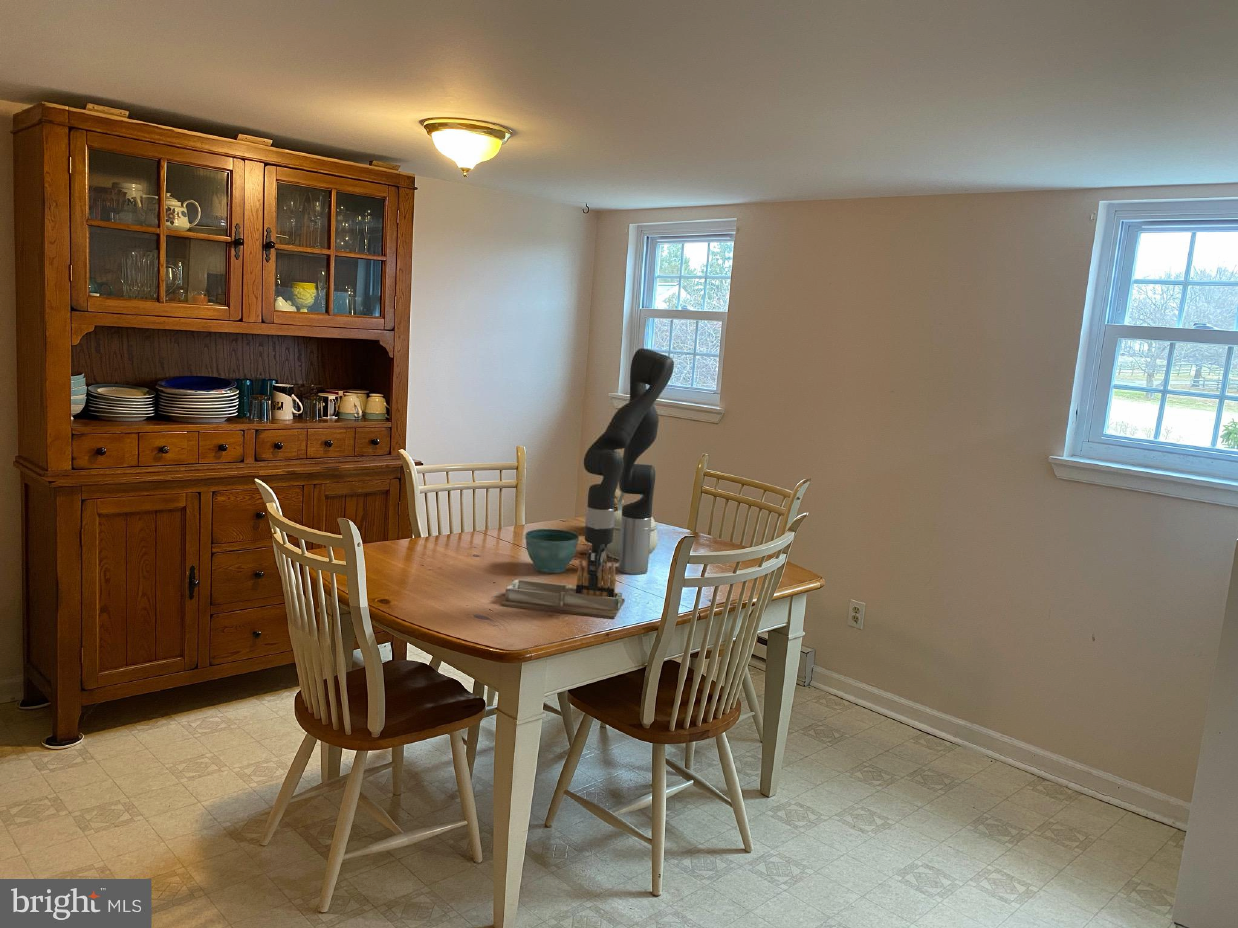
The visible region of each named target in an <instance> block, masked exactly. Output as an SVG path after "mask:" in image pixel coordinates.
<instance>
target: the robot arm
mask: <svg viewBox="0 0 1238 928" xmlns="http://www.w3.org/2000/svg"><path fill="white" fill-rule="evenodd" d="M630 363H631V364H630V371H629V401H628V402H627V403H625V404H624V405H622V406H621V407H620V408H619V409H618V410H617V411H616V412H615V413H614V414H613V416H612V417H611V420H610V422H609V423H608V425H607V428H606V429H605V431H604V432H603V433H602V434H601V435H599V437H598V438H597V439H596V440H595V441H594V442H593V443H592V444H591V445H590V447H589V448H587V451H586V453H585V454H584V457H583V467H584V469H585V472H587V473H589V474H591V475H595V476H601V477H602V480H601V482H600V483H594V484H591V485H590V486H589V487H588V492H587V509H586V513H585V521H584V522H585V525H584V526H585V527H584V541H585V542H586V543H588V544H590V545H591V548H589V551H588V554H587V556H588V557H587V560H588V571H587V574H589V589H594V590H596V589H597V588H598V575H599V568H601V567H602V582H603V575H604V568H605V564H606V562H607V556H608V554H607V552H608V551H607V545H608V544H610V543H612V542H613V531H614V501H615V492H616V489H617V488H618V487H619V489H620V490H619V491H620V493H621V492H623V493H625V494H626V495H639V496H640V495H641V494H642V495H643V496H642V497H641V498H640V497H639V499H637V500H636V501H633V502H629V503H625V504H624V506H623V508H622V516H621V532H620V547H619V560H618V562H617V563H618V565H617V570H618V571H619V572H621V573H624V574H630V575H641V574H647V573H648V571H649V559H650V558H649V546H650V531H651V517H652V518H653V516H652V514H653V513H652V512H653V500H654V499H653V498H654V492H655V486H656V485H655V483H656V470H655V467H654V466H653V465H652V464H644V463H643V464H641V463H636V461H637V460H638V459H639V457H641V455H642V454H644V453H645V452H647V450H648V449H650V447H651V446H652V444H653V443H654V442H655V441H656V439H657V435H658V431H659V430H658V428H659V421H660V420H659V414H658V411H657V409H656V406H655V405H654V403H656V401H657V399H658V398H659V397H660V396H661V394H662V393H663V391H664V390H665V388H666V387H667V385H668V384H669V383H670V380H671V378H672V375H673V372H674V369H675V362H674V359H673V358H672V357H671V356H668V355H666V354H664V353H660V352H658V351H657V352H656V351H655V350H651V349H648V348H644V347H641V348H639V349H637V350H636V351H635V352H634V354H633V356H632V360H631V362H630ZM647 386H649V387H648V388H647ZM617 450H623V455H622V454H621V452H620V451H617ZM617 490H618V489H617ZM592 567H595V570H592Z"/></svg>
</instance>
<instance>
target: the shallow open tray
mask: <svg viewBox="0 0 1238 928" xmlns="http://www.w3.org/2000/svg"><path fill="white" fill-rule="evenodd" d="M582 592H583V589H582ZM608 595H609V594H608ZM504 597H505V598H504V600H503V601H502V602H501V606H502V607H509V608H518V609H526V610H534V611H543V612H552V613H559V614H568V615H577V616H584V615H586V617H593V616H594V617H593V618H603V619H609V620H610V619H611V620H615V619H616V617H617V615H618V614H619V611H620V610H621V609H622V607H623V605H624V603H625V601H626V599H625V598H623V593H622V592H616V591H615V598H612V597H604V596H602V594H601V596H595V595H586V594H577V593H576V587H572V584H564V583H555V582H554V583H553V582H545V581H538V580H537V581H536V580H527V579H520V578H515V580H514V581H513V582H511V584H509V585H508V586H507V587H506V588H505V596H504Z"/></svg>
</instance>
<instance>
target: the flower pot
mask: <svg viewBox="0 0 1238 928" xmlns="http://www.w3.org/2000/svg"><path fill="white" fill-rule="evenodd" d="M524 537H525V548H526V551H527V554H528V556H529V558H530V560H531V563H533V565H534V569H535V570H536V571H538V572H541V573H547V574H558V573H559V574H560V573H564V572H565V571H566V570H567V567H568V565H569V564H570V563H571V561H572V560H573V558H574V557H575V555H576V551H577V548H578V543H579V539H580V536H579V534H578V533H577V532H574V531H570V530H565V529H557V528H537V529H533V530H528V531H527V532H525V534H524Z"/></svg>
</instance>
